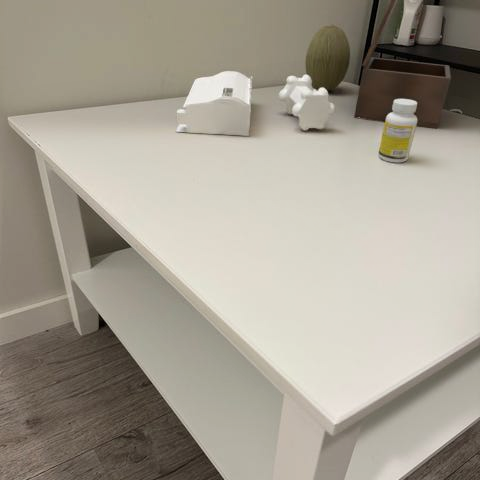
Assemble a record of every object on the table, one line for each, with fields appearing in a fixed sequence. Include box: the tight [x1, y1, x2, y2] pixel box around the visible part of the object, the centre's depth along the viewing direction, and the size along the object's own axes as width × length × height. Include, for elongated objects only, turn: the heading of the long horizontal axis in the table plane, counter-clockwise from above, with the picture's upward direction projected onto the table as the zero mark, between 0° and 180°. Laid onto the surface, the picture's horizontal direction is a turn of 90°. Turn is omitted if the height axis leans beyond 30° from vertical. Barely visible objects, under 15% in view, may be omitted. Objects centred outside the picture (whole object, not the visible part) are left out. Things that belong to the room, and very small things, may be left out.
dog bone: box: [278, 73, 336, 132], centre depth 101 cm, size 15×9×8 cm, turn 10°
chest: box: [353, 56, 452, 130], centre depth 109 cm, size 18×15×10 cm
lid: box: [361, 0, 398, 68], centre depth 101 cm, size 19×15×9 cm
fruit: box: [305, 24, 351, 92], centre depth 123 cm, size 11×11×15 cm
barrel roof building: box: [175, 70, 254, 137], centre depth 102 cm, size 25×15×7 cm, turn 178°
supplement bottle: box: [378, 99, 417, 164], centre depth 85 cm, size 5×5×10 cm
